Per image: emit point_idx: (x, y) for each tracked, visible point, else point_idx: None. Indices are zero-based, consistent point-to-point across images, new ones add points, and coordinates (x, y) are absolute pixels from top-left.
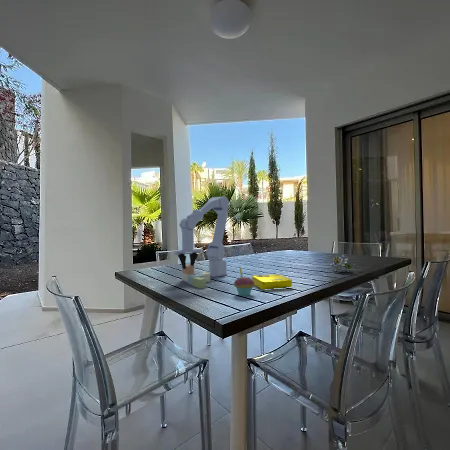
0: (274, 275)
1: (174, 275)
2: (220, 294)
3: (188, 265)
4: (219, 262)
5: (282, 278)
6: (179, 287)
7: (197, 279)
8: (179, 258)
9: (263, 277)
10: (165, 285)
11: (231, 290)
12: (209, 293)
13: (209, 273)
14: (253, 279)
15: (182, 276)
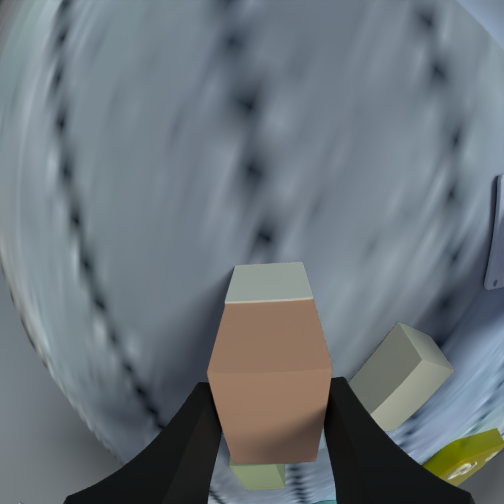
0: (485, 459)
1: (247, 5)
2: (271, 498)
3: (279, 427)
4: None
5: (456, 483)
6: (161, 417)
7: (241, 482)
8: (109, 485)
9: (446, 480)
10: (92, 347)
11: (329, 488)
12: (247, 490)
13: (407, 416)
14: (438, 470)
15: (231, 280)
